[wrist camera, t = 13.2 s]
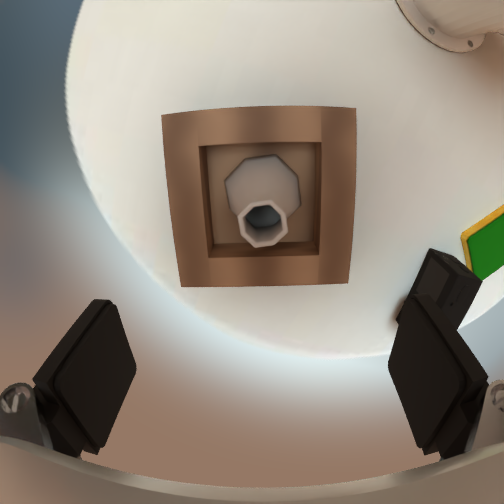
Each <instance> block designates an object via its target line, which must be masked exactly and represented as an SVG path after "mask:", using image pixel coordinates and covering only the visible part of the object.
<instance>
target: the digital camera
mask: <svg viewBox="0 0 504 504" xmlns="http://www.w3.org/2000/svg"><path fill="white" fill-rule="evenodd" d="M435 252H436V253H435ZM443 256H444V257H443ZM447 258H448V259H447ZM444 260H445V261H444ZM482 282H483V281H482V280H481V279H480V278H479V277H477V276H476V275H475V274H474V273H473V272H472V271H471V270H469V269H468V268H467V267H466V266H465V265H464V264H462V263H461V262H460V261H459V260H458V259H457V258H455V257H454V256H452V255H449V254H446V253H443V252H440V251H437V250H434V249H429V251H428V253H427V255H426V257H425V260H424V262H423V264H422V267H421V269H420V271H419V273H418V276H417V278H416V280H415V282H414V284H413V286H412V288H411V291H410V293H409V295H408V297H407V299H409V297H410V296H411V295H412V294H423V293H427V294H429V295H430V296H431V298H432V299H433V300H434V301H435V303H436V304H437V305H438V307H439V308H440V309H441V310H442V312H443V313H444V314H445V316H446V317H447V318H448V320H449V321H450V322H451V323H452V325H453V326H454V328H455V329H456V330H457V329H458V327H459V326H460V324H461V322H462V320H463V319H464V317H465V315H466V313H467V311H468V310H469V308H470V306H471V304H472V302H473V300H474V298H475V296H476V294H477V292H478V290H479V288H480V286H481V284H482ZM407 299H406V300H407ZM403 306H404V305H403ZM402 310H403V307H402V309H401V311H400V313H399V315H398V317H397V319H396V321H397V323H398V324H399V322H400V318H401V314H402Z"/></svg>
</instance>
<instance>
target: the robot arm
mask: <svg viewBox="0 0 504 504" xmlns="http://www.w3.org/2000/svg"><path fill="white" fill-rule="evenodd" d="M397 2H398V4H399V6H400V8H401V10H402V12H403V13H404V15H405V16H406V17H407V19H408V20H409V21H410V22H411V24H412V25H413V26H414V27H415V28H416V29H417V30H418V31H419V32H420V33H421V34H422V35H423V36H425V37H426V38H427V39H429V40H430V41H431V42H433V43H434V44H436V45H438V46H440V47H441V48H444V49H446V50H449V51H453V52H468V51H472V50H474V49H476V48H478V47H479V46H480V45H481V44H482V42H483V40H484V38H485V34H486V33H487V32H493V33H497V32H498V33H500V34H501V35H503V36H504V0H397ZM388 369H389V373H390V375H391V378H392V380H393V383H394V385H395V387H396V390H397V393H398V395H399V398H400V400H401V403H402V406H403V408H404V411H405V414H406V417H407V419H408V422H409V425H410V428H411V430H412V433H413V436H414V439H415V442H416V444H417V446H418V447H419V448H422V450H423V453H424V455H428V454H431V453H435V452H438V451H439V453H440V456H441V458H440V460H439V462H436V463H433V464H429V465H425V466H422V467H418V468H414V469H410V470H406V471H402V472H398V473H393V474H389V475H385V476H380V477H374V478H369V479H363V480H357V481H351V482H344V483H336V484H328V485H318V486H305V487H288V488H238V487H221V486H208V485H198V484H189V483H182V482H175V481H168V480H162V479H156V478H151V477H146V476H140V475H136V474H131V473H127V472H123V471H119V470H115V469H111V468H108V467H104V466H100V465H96V464H94V463H90V462H87V461H83V460H82V458H81V455H80V454H81V452H82V450H84V451H86V452H89V453H92V454H96V455H98V452H99V450H100V448H103V447H104V446H105V444H106V442H107V439H108V437H109V434H110V432H111V429H112V427H113V424H114V422H115V420H116V417H117V415H118V413H119V410H120V408H121V406H122V403H123V401H124V399H125V396H126V394H127V392H128V390H129V387H130V385H131V382H132V380H133V378H134V376H135V374H136V363H135V360H134V357H133V354H132V352H131V349H130V346H129V343H128V340H127V337H126V334H125V331H124V328H123V325H122V322H121V319H120V315H119V313H118V309H117V306H116V305H114V304H113V303H112V302H111V301H110V300H102V299H94V300H93V301H92V302H91V303H90V304H89V306H88V307H87V308H86V309H85V310H84V312H83V313H82V314H81V315H80V317H79V318H78V319H77V320H76V322H75V323H74V324H73V325H72V327H71V328H70V329H69V330H68V332H67V333H66V334H65V336H64V337H63V338H62V339H61V341H60V342H59V344H58V345H57V346H56V347H55V349H54V350H53V351H52V353H51V354H50V355H49V357H48V358H47V359H46V361H45V362H44V363H43V365H42V366H41V368H40V369H39V370H38V372H37V373H36V375H35V376H34V377H33V381H34V383H35V384H36V385H35V387H34V388H32V387H31V386H30V385H29V384H27V383H15V384H12V385H10V386H8V387H7V388H6V389H5V390H4V391H3V392H2V393H1V395H0V504H504V380H496V381H494V382H492V383H491V384H490V385H489V384H488V382H487V381H486V380H487V378H488V375H487V373H486V372H485V370H484V369H483V367H482V366H481V364H480V363H479V361H478V360H477V358H476V357H475V356H474V354H473V353H472V351H471V350H470V348H469V347H468V345H467V344H466V343H465V341H464V340H463V339H462V337H461V336H460V334H459V333H458V332H457V330H456V329H455V328H454V326H453V325H452V323H451V322H450V321H449V320H448V318H447V317H446V316H445V314H444V313H443V312H442V310H441V309H440V308H439V307H438V305H437V304H436V303H435V301H434V300H433V299H432V298H431V296H430V295H429V294H427V293H423V294H412V295H411V296H410V297H409V299H407V300H405V302H404V306H403V310H402V314H401V318H400V322H399V326H398V330H397V333H396V337H395V340H394V344H393V347H392V351H391V354H390V357H389V361H388Z"/></svg>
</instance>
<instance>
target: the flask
mask: <svg viewBox="0 0 504 504" xmlns="http://www.w3.org/2000/svg"><path fill="white" fill-rule="evenodd" d="M224 184H225V189H226V194H227V199H228V205H229V209H230V210H231V211H232V212H233V213H234V214H235V215H236V216H237V217H238V222H239V228H240V233H241V236H242V237H244V238H245V239H246V240H247V241H248V242H249V243H250V244H251V245H252V246H253V247H255V248H258V247H265V246H272V245H275V244H276V243H277V242H278V241H279V240H280V239H281V238H283V237H284V236H285V235H286V234H287V233H288V226H287V218H288V217H289V216H290V215H291V214H293V213H294V212H295V211H296V210H297V209H298V208H299V207H300V206H301V205H302V203H301V194H300V187H299V179H298V175H297V174H296V173H295V172H294V171H293V170H292V169H291V168H290V167H289V166H288V165H287V164H286V163H285V162H284V161H283V160H282V159H281V158H280V157H279V156H278V155H277V154H271V155H264V156H257V157H251V158H245V159H244V160H243V161H242V162H241V163H240V164H239V165H238V166H237V167H236V168H235V169H234V170H233V171H232V172H231V173H230V174H229V175H228V177H227V178H226V179H225V180H224Z"/></svg>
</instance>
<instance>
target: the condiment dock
mask: <svg viewBox="0 0 504 504" xmlns="http://www.w3.org/2000/svg"><path fill="white" fill-rule="evenodd" d="M161 117H162V132H163V145H164V157H165V168H166V178H167V187H168V196H169V205H170V213H171V221H172V229H173V236H174V243H175V250H176V257H177V263H178V270H179V276H180V282H181V287H244V286H289V285H319V284H344V283H348V280H349V270H350V261H351V250H352V238H353V225H354V209H355V188H356V145H357V132H356V108H344V107H325V106H255V107H235V108H221V109H209V110H198V111H189V112H181V113H173V114H165V115H161ZM271 154H277V155H278V156H279V157H280V158H281V159H282V160H283V161H284V162H285V163H286V164H287V165H288V166H289V167H290V168H291V169H292V170H293V171H294V172H295V173H296V174H297V175H298V179H299V187H300V194H301V203H302V205H301V206H300V207H299V208H298V209H297V210H296V211H295V212H294V213H293V214H291V215H290V216H289V217H288V218H287V226H288V233H287V234H286V235H285V236H284V237H283V238H281V239H280V240H279V241H278V242H277V243H276V244H275V245H272V246H265V247H258V248H255V247H253V246H252V245H251V244H250V243H249V242H248V241H247V240H246V239H245V238H244V237H242V236H241V233H240V228H239V222H238V217H237V216H236V215H235V214H234V213H233V212H232V211H231V210H230V209H229V205H228V199H227V194H226V189H225V184H224V180H225V179H226V178H227V177H228V175H229V174H230V173H231V172H232V171H233V170H234V169H235V168H236V167H237V166H238V165H239V164H240V163H241V162H242V161H243V160H244V159H245V158H251V157H257V156H264V155H271Z"/></svg>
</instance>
